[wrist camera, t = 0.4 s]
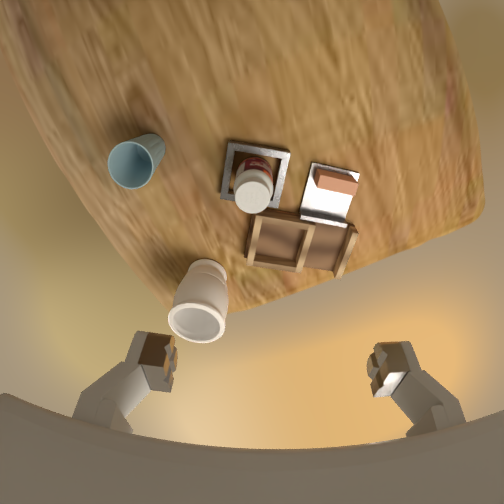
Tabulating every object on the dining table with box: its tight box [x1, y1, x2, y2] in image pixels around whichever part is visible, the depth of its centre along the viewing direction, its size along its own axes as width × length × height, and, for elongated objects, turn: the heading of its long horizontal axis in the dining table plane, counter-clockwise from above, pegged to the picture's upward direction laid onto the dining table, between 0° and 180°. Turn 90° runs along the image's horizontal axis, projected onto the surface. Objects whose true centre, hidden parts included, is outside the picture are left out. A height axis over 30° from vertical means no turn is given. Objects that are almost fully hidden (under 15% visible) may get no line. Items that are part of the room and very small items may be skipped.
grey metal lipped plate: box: [299, 162, 359, 228], centre depth 54 cm, size 10×9×3 cm
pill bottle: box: [234, 157, 273, 213], centre depth 49 cm, size 6×6×11 cm
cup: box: [108, 134, 166, 189], centre depth 47 cm, size 8×8×10 cm
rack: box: [244, 208, 359, 279], centre depth 59 cm, size 11×20×4 cm, turn 80°
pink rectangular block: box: [314, 168, 359, 196], centre depth 51 cm, size 2×7×4 cm, turn 80°
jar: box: [168, 259, 228, 343], centre depth 60 cm, size 11×10×15 cm
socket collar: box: [220, 140, 291, 208], centre depth 53 cm, size 10×10×2 cm
